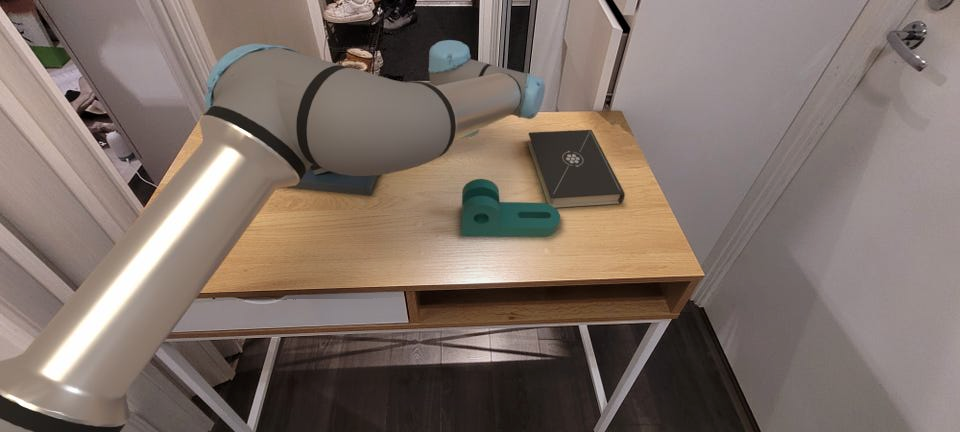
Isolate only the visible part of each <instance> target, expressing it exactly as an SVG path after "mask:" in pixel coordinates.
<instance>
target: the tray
mask: <svg viewBox="0 0 960 432" xmlns="http://www.w3.org/2000/svg"><path fill="white" fill-rule="evenodd" d="M379 176H380V175H371V176H351V175H343V174H338V173H334V172H331V171H328V172H324V173H321V174H318V175H315V174H314V173H313V171H312V169H311V168H309V169H308V170H307V172H306V173H305V174H304V176H303V177H302V179H301V180H300V181H299V183H298V184H297V185H295V186H289V187H286V188H287V189H299V190H309V191H319V192H329V193H340V194H349V195H361V196H371V195H372V193H373V190H374V187H375V185H376V183H377V181H378V178H379Z"/></svg>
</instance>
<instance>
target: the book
mask: <svg viewBox="0 0 960 432" xmlns="http://www.w3.org/2000/svg"><path fill="white" fill-rule="evenodd" d="M528 136H529V140H530V142H527V143H526V145H527V146H528V150H529V153H530V156H531V159H532V162H533V166H534V168H535V171H536V174H537V177H538V180H539V182H540V186H541V189H542V191H543V194H544V197H545V198H544V199H545V201H546V204H549V205H551V206H553V207H555V208H556V209H567V208H569V209H570V208H583V207H584V208H585V207H601V206H615V205H621V204H622V203H623V202H624V199H625V196H626V195H625V191H624V189H623V187H622V185H621V183H620V181H619V179H618V178H617V176H616V174H615V171H614V169H613V168H612V166H611V164H610V163H609V160H608V159H607V156H606V155H605V153H604V151H603V149H602V146H601V145H600V143H599V142H598V140H597V137H596V135H595V133H594V132H593V130H592V129H575V130H573V129H572V130H552V131H531V132H528Z"/></svg>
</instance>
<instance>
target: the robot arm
mask: <svg viewBox="0 0 960 432" xmlns="http://www.w3.org/2000/svg"><path fill="white" fill-rule="evenodd" d="M471 57H472V56H471V53H470V47H469V46H468V45H467V44H466V43H464V42H462V41H459V40H454V39H453V40H452V39H447V40H446V39H445V40H439V41H438V42H436V43H435V44H433V45H431V47H430V48H429V52H428V68H427V69H428V74H429V75H428V76H429V82H428V81H421V80H420V81H419V80H418V81H410V82H405V81H400V80H394V79H391V78H388V77H384V76H381V75H377V74H375V73H371V72H368V71H365V70H361V69H358V68H354V67H349V66H347V65H343V64H339V63H335V62H332V61H329V60H326V59H325V60H324V59H322V58H317V57H314V56H311V55H306V54H303V53H301V52H300V51H297V50H295V49H293V48H290V47H287V46H282V45H270V44H267V43H266V44H264V43H250V44H244V45H241V46H238V47H235V48H233V49H231V50H230V51H228V52H227V53H225V54H224V55H223V56H222V57H221V58H220V59H219V60H218V61H217V62H216V63H215V65H214V66H213V67H212V69H211V71H210V73H209V74H208V77H207V80H206V83H205V86H206V87H207V88H208V92H207V93H205V94H204V103H205V107H206V110H207V111H206V112H205V113H204V114H203V115H202V116H201V117H200V119H199V126H200V130H201V131H200V132H201V136H202V142H201V143H200V144H199V146H197V148H196V149H195V150H194V151H193V153H191V154H190V156H189V157H188V158H187V160H186V161H185V162H184V163H183V164H182V165H181V167H180V168H179V169H178V170H177V171H176V172H175V174H174V175H173V176H172V177H171V179H169V181H167V182H166V185H164V186H163V188H162V189H161V190H160V191H159V192H158V194H157V195H156V196H155V197H154V198H153V200H151V202H150V203H149V204H148V206H147V207H145V209H144V210H143V211H142V212H141V214H140V215H139V216H138V217H137V218H136V220H135V221H134V222H133V223H132V224H131V226H130V227H129V228H128V229H127V230H126V231H125V232H124V234H123V235H122V236H121V237H120V238H119V240H118V241H117V242H116V243H115V245H113V247H112V248H111V249H110V250H109V252H108V253H106V255H105V256H104V257H103V258H102V260H101V261H100V262H99V263H98V264H97V265H96V267H95V268H94V269H93V270H92V272H91V273H90V274H89V275H87V277H86V279H85V280H84V281H83V282H82V283H81V284H80V286H79V287H78V288H77V289H76V290H75V291H74V292H73V294H72V295H71V297H69V299H68V300H66V302H65V303H64V304H63V306H62V307H61V308H60V309H59V310H58V312H57V313H56V314H55V315H54V316H53V317H52V319H51V320H50V321H49V322H48V323H47V324H46V325H45V327H44V328H43V329H42V330H41V332H40V333H39V334H38V335H37V336H36V337H35V338H34V340H33V341H32V342H31V343H30V344H29V345H28V347H27V348H26V349H25V350H24V351H23V352H22V353H21V354H18V355H16V356H14V357H10V358H7V359H3V360H0V432H121V431H123V428H124V427H125V425H127V423H128V421H129V420H130V418H131V413H130V408H129V404H128V399H127V397H128V396H127V395H128V392H129V390H131V388H132V386H133V385H134V383H136V381H137V380H138V378H139V377H140V375H141V374H142V372H143V371H144V370H145V369H146V367H147V366H148V364H149V363H150V362H151V361H152V359H153V358H154V356H155V355H156V353H157V352H158V351H159V349H160V348H161V347H162V345H163V344H164V343H165V342H166V340H167V339H168V337H169V336H170V335H171V334H172V332H173V330H174V329H175V327H177V325H178V323H179V322H180V321H181V320H182V318H183V317H184V316H185V314H186V312H188V310H189V309H190V307H191V306H192V305H193V303H194V302H195V300H196V299H197V298H198V296H199V295H200V293H201V292H203V289H204V288H205V287H206V286H207V284H208V283H209V282H210V280H211V279H212V278H213V276H214V275H215V273H216V272H217V271H218V270H219V268H220V266H221V265H222V264H223V262H224V261H225V260H226V259H227V257H228V255H229V254H230V253H231V251H232V250H233V249H234V248H235V246H236V245H237V243H238V242H239V241H240V239H241V238H242V237H243V235H244V234H245V233H246V231H247V230H248V229H249V227H250V226H251V224H252V223H253V222H254V221H255V219H256V218H257V217H258V215H259V213H261V211H262V210H263V208H264V207H265V206H266V204H267V202H269V200H270V198H271V197H272V196H273V194H274V193H275V191H277V190H279V189H282V188H287V187H289V186H295V185H297V184H298V183H299V181H300V180H301V179H302V177H303V176H304V174H305V173H306V172H307V170H308V169H309V168H310V166H311V165H314V166H318V167H320V168H323V169H326V170H329V171H331V172H334V173H338V174H343V175H351V176H371V175H379V176H380V175H381V176H382V175H387V174H393V173H398V172H403V171H407V170H409V169H410V170H411V169H413V168H417V167H421V166H423V165H425V164H427V163H430V162H432V161H434V160H436V159H438V158H440V157H442V156H444V155H445V154H446V153H447V152H448V151H449V150H450V149H451V147H452V146H453V144H454V142H455V141H457V140H461V139H465V138H470V137H474V136H476V135H477V134H478V133H479V131H480V130H481V129H483V128H485V127H488V126H490V125H492V124H495V123H496V122H498V121H500V120H503V119H505V118H507V117H509V116H515V117H517V118H519V119H521V118H522V119H527V120H532V119H534V118H535V117H536V116H537V115H538V113H539V111H540V109H541V107H542V105H543V102H544V97H545V93H546V84H545V81H544V80H543V78H541V77H539V76H535V75H533V74H530V73H529V72H526V73H525V72H522V71H517V70H513V69H510V68H506V67H500V66H497V65H493V64H490V63H487V62H483V61H479V60H476V59H472V58H471Z"/></svg>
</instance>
